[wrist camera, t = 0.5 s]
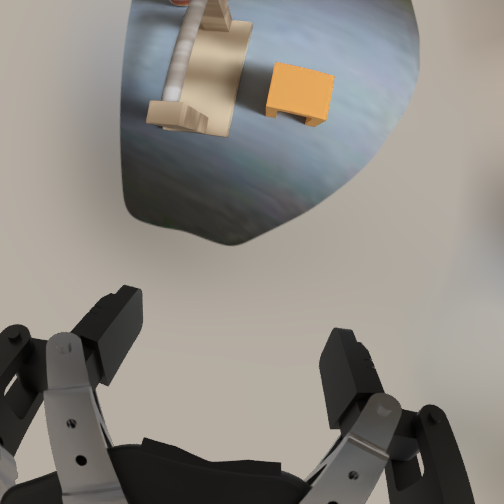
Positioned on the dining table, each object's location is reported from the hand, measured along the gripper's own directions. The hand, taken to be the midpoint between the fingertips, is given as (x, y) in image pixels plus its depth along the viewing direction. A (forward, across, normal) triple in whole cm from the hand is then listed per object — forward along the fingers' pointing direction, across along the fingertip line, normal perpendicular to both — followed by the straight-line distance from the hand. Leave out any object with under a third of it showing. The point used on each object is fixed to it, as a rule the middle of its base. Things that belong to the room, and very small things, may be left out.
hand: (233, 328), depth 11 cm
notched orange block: (+25, -2, -13) cm, 29 cm away
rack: (+25, +9, -15) cm, 31 cm away
